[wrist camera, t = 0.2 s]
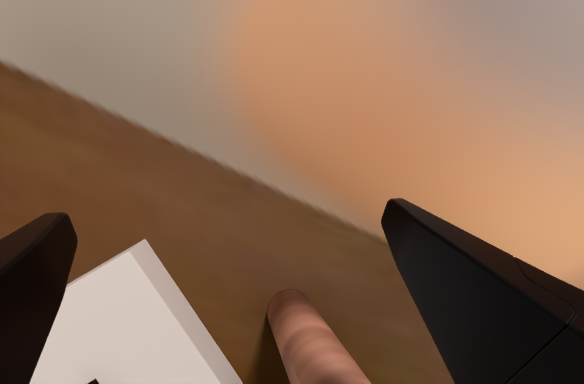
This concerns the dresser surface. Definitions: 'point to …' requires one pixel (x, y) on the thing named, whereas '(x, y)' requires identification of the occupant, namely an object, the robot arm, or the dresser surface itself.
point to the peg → (309, 343)
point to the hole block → (130, 330)
